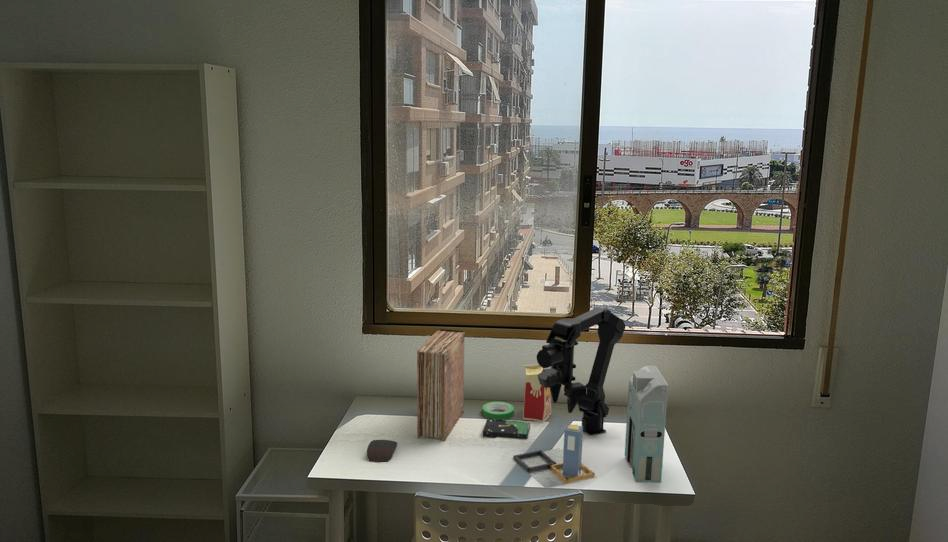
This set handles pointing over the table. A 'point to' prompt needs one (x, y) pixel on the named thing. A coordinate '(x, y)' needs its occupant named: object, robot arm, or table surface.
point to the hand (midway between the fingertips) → (562, 407)
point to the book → (440, 384)
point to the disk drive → (506, 429)
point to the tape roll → (498, 406)
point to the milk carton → (535, 396)
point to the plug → (572, 450)
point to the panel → (550, 468)
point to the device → (646, 424)
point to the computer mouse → (381, 450)
